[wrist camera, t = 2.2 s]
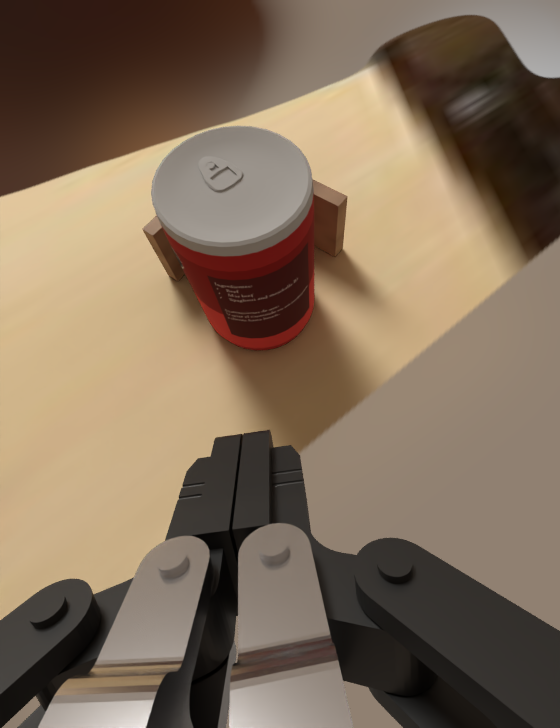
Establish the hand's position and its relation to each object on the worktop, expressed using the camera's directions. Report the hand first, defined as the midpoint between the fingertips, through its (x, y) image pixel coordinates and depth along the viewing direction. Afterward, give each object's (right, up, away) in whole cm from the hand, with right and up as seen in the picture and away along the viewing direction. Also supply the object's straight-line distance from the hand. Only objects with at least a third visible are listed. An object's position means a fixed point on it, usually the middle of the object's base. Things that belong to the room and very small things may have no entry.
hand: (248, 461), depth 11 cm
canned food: (-1, +7, +18) cm, 19 cm away
